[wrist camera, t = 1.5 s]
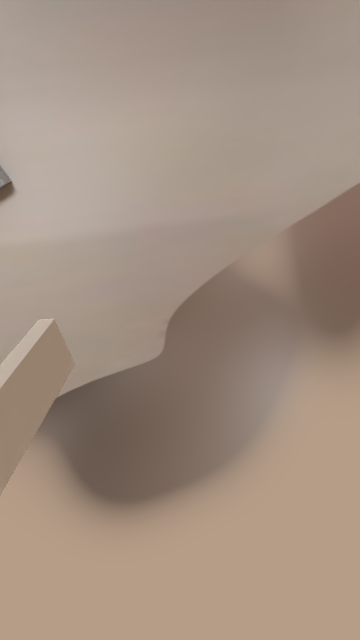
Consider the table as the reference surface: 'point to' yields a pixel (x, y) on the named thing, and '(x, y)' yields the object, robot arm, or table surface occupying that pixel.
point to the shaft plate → (3, 178)
